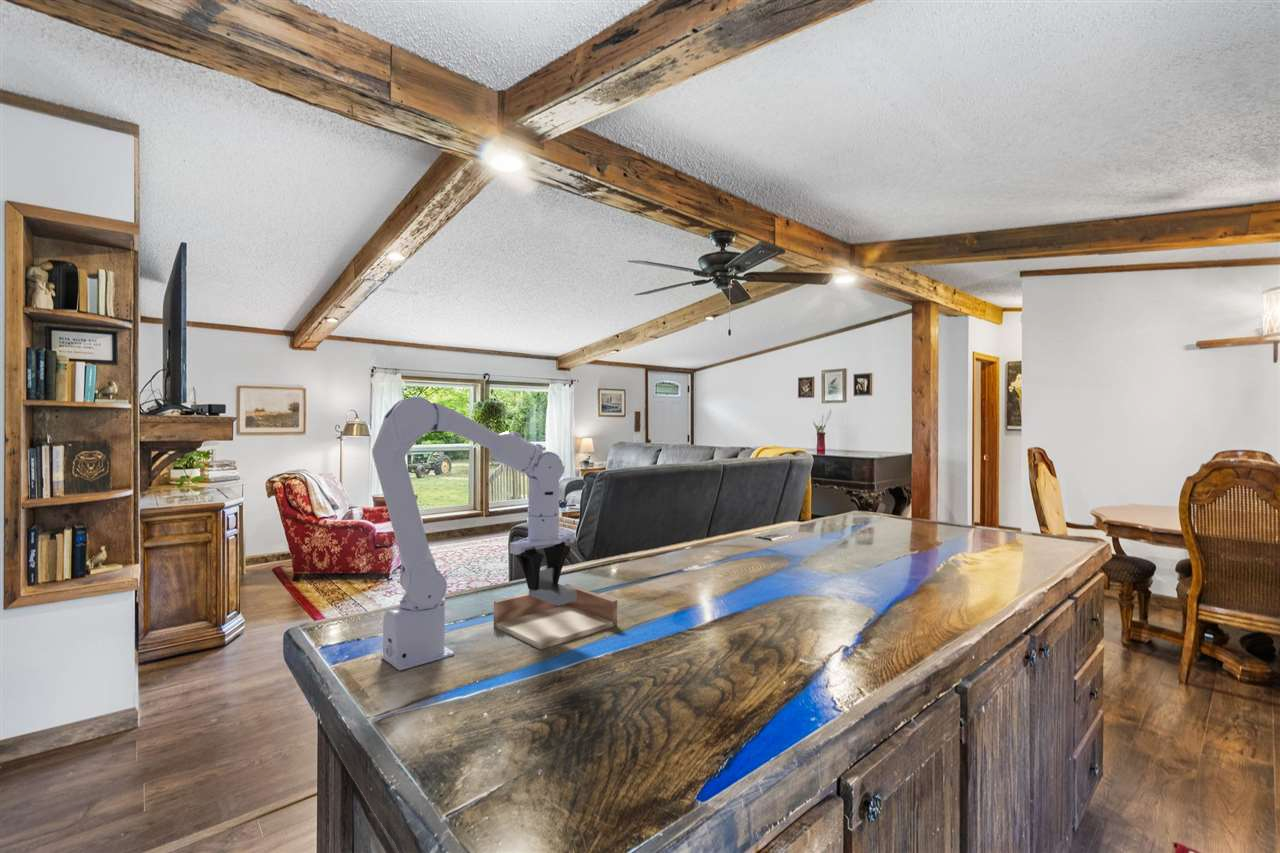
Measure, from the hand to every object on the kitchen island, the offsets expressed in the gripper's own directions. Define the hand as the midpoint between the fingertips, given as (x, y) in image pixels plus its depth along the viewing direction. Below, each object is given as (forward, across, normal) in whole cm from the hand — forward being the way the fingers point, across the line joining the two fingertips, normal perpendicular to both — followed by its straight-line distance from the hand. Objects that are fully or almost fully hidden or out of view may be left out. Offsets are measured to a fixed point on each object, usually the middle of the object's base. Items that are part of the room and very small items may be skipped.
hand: (543, 586), depth 110 cm
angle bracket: (+2, 0, -3) cm, 3 cm away
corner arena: (+9, +4, +1) cm, 10 cm away
